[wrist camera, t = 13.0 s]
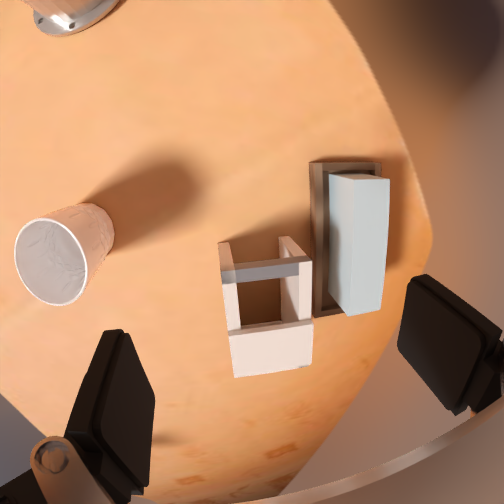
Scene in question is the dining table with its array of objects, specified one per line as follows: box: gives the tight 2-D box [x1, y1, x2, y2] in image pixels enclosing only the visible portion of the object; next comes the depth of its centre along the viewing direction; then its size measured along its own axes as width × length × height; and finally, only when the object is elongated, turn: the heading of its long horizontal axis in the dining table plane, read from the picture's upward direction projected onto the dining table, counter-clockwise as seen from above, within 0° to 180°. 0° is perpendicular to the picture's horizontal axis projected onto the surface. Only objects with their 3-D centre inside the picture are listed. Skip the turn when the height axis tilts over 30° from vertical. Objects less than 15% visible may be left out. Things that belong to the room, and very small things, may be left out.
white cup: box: [14, 203, 115, 306], centre depth 25 cm, size 8×8×10 cm
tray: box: [309, 162, 381, 318], centre depth 34 cm, size 18×8×2 cm, turn 4°
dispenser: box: [218, 236, 313, 378], centre depth 31 cm, size 12×8×9 cm, turn 4°
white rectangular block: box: [328, 173, 390, 316], centre depth 31 cm, size 14×4×6 cm, turn 4°
